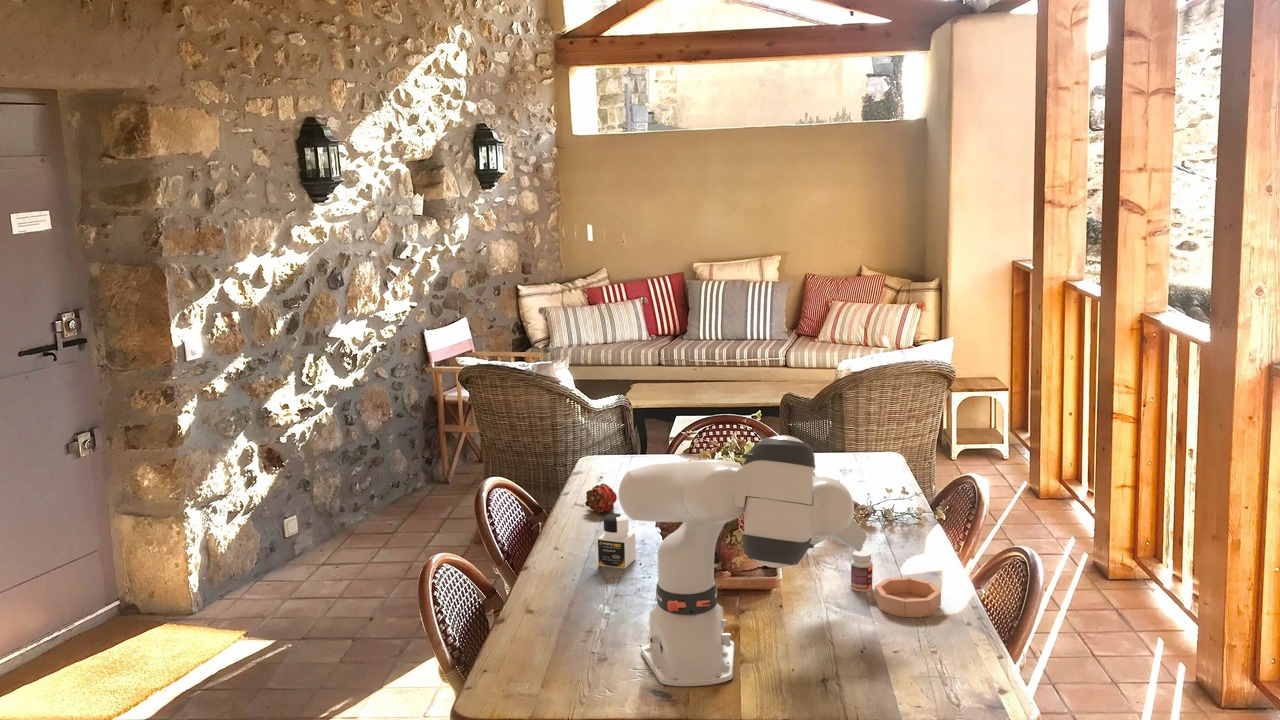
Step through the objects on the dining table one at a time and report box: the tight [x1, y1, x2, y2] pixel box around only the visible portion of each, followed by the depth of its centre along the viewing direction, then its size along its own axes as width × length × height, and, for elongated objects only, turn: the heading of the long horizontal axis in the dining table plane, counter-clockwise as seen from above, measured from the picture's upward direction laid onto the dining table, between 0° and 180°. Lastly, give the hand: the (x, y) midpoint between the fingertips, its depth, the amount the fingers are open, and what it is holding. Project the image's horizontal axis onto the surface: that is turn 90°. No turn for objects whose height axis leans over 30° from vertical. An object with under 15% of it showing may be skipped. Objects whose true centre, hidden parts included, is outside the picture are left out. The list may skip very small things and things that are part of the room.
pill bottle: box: [850, 549, 873, 593], centre depth 248 cm, size 5×5×8 cm
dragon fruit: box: [584, 482, 618, 515], centre depth 309 cm, size 8×8×12 cm
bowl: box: [874, 576, 942, 618], centre depth 238 cm, size 13×13×4 cm
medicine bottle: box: [597, 513, 637, 570], centre depth 268 cm, size 7×7×12 cm
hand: (843, 542), depth 241 cm, fingers open, 8 cm apart
